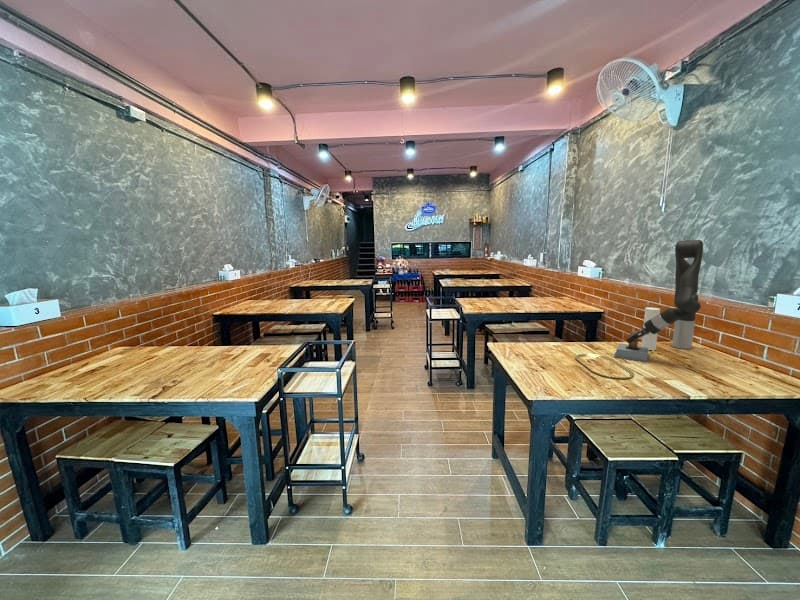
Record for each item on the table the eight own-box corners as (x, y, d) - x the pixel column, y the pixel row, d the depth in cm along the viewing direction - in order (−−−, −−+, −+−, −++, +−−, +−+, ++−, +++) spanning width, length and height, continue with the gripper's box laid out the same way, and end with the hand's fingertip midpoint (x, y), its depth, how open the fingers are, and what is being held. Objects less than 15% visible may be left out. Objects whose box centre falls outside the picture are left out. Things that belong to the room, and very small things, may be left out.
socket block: (616, 350, 201) (617, 342, 200) (649, 355, 191) (650, 347, 190) (613, 357, 188) (614, 349, 188) (649, 363, 179) (649, 354, 178)
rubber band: (603, 356, 191) (603, 354, 191) (642, 380, 157) (643, 377, 156) (569, 356, 192) (569, 353, 192) (600, 380, 158) (601, 376, 158)
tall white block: (655, 348, 203) (659, 308, 199) (656, 351, 197) (661, 310, 193) (640, 347, 207) (644, 307, 203) (641, 350, 201) (645, 309, 197)
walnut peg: (628, 347, 192) (630, 331, 190) (637, 348, 189) (638, 332, 188) (628, 349, 189) (629, 332, 187) (636, 350, 186) (638, 333, 185)
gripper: (656, 316, 184) (629, 333, 196) (647, 319, 176) (619, 337, 187) (667, 327, 181) (638, 344, 192) (658, 331, 173) (629, 349, 184)
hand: (629, 341), depth 190 cm, fingers closed on walnut peg, 4 cm apart
